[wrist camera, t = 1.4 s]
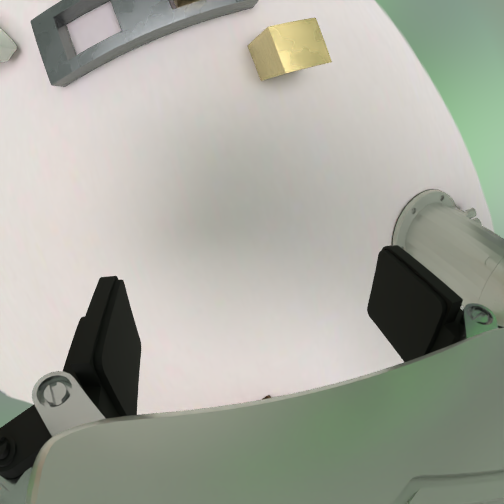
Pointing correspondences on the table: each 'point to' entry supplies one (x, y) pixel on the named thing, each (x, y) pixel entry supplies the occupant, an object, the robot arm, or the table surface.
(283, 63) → the brass square peg
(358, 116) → the table surface
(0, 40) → the cable organizer
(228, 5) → the peg holder block
